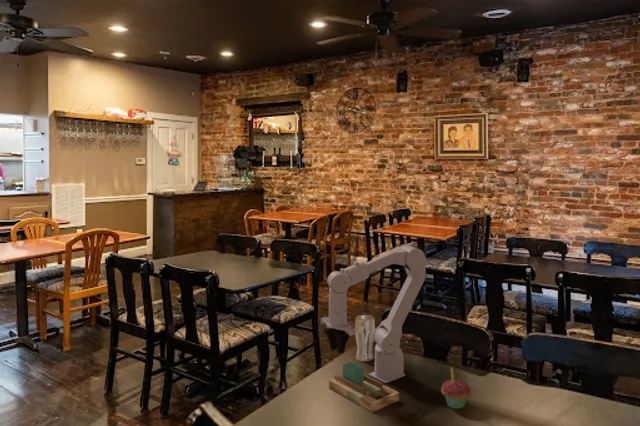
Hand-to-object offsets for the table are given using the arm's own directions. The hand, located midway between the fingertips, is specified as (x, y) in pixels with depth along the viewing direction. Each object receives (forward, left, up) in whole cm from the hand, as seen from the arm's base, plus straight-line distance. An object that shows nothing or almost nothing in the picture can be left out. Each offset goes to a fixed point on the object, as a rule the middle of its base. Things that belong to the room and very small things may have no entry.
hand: (337, 351), depth 163 cm
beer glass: (-19, -7, -10) cm, 23 cm away
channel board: (0, +12, -10) cm, 16 cm away
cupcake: (-16, +34, -10) cm, 39 cm away
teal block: (0, +8, -7) cm, 11 cm away
